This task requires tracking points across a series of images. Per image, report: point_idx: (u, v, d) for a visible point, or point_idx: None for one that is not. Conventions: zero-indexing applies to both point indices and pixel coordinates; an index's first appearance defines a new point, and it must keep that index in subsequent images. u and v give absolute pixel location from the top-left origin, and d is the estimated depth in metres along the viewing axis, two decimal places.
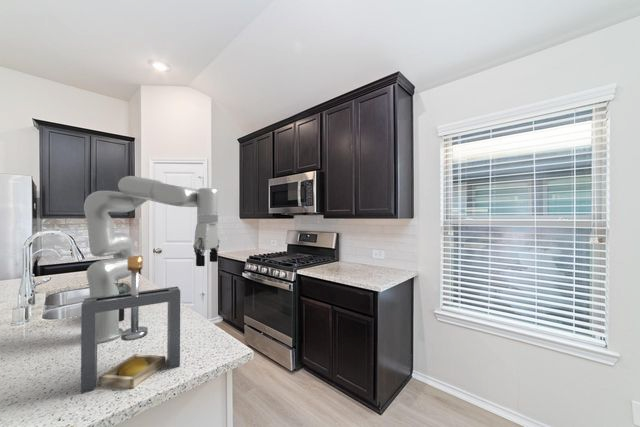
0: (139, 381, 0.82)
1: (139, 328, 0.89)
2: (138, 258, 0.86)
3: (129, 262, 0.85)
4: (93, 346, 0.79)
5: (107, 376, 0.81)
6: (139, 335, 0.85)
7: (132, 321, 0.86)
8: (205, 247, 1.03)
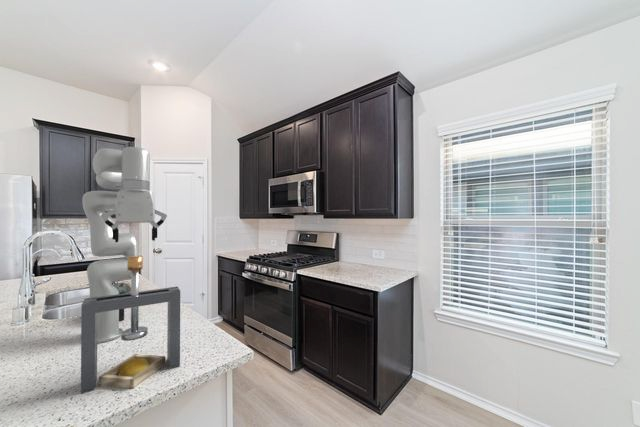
0: (139, 381, 0.82)
1: (139, 328, 0.89)
2: (138, 258, 0.86)
3: (129, 262, 0.85)
4: (93, 346, 0.79)
5: (107, 376, 0.81)
6: (139, 335, 0.85)
7: (132, 321, 0.86)
8: None
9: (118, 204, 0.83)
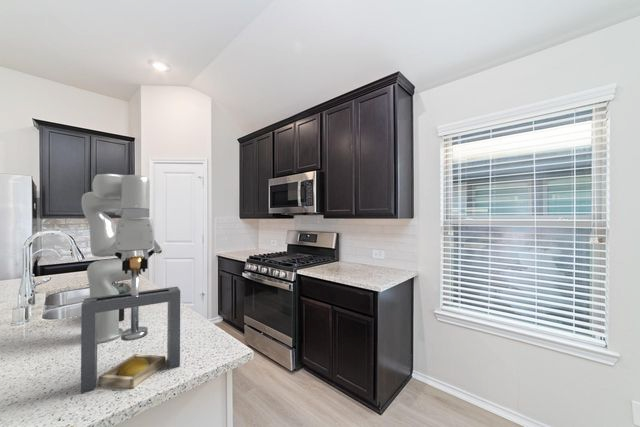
0: (139, 381, 0.82)
1: (139, 328, 0.89)
2: (138, 258, 0.86)
3: (129, 262, 0.85)
4: (93, 346, 0.79)
5: (107, 376, 0.81)
6: (139, 335, 0.85)
7: (132, 321, 0.86)
8: None
9: (118, 233, 0.83)
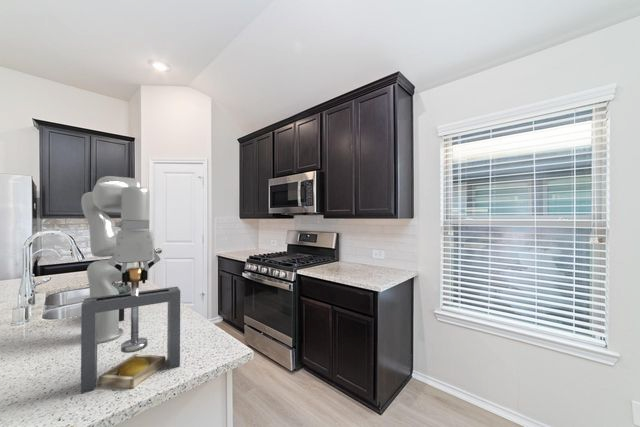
0: (139, 381, 0.82)
1: (139, 339, 0.89)
2: (138, 270, 0.86)
3: (129, 274, 0.85)
4: (93, 346, 0.79)
5: (107, 376, 0.81)
6: (139, 346, 0.85)
7: (132, 333, 0.86)
8: None
9: (117, 245, 0.83)
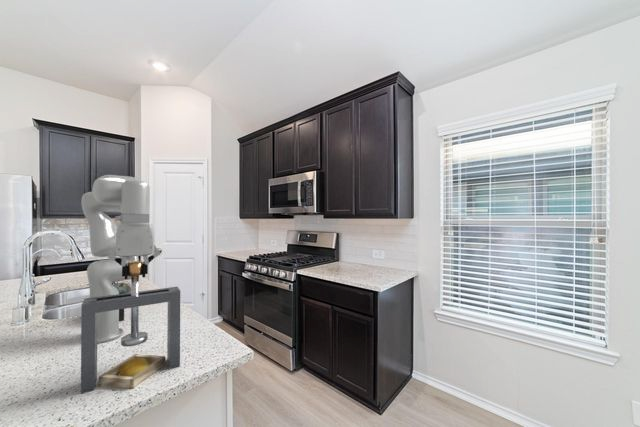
0: (139, 381, 0.82)
1: (139, 333, 0.89)
2: (138, 264, 0.86)
3: (129, 268, 0.85)
4: (93, 346, 0.79)
5: (107, 376, 0.81)
6: (139, 340, 0.85)
7: (132, 327, 0.86)
8: None
9: (117, 239, 0.83)
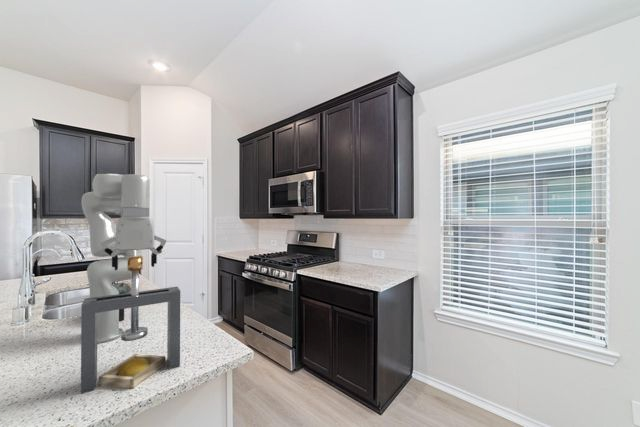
0: (139, 381, 0.82)
1: (139, 328, 0.89)
2: (138, 258, 0.86)
3: (129, 262, 0.85)
4: (93, 346, 0.79)
5: (107, 376, 0.81)
6: (139, 335, 0.85)
7: (132, 321, 0.86)
8: None
9: (117, 232, 0.83)
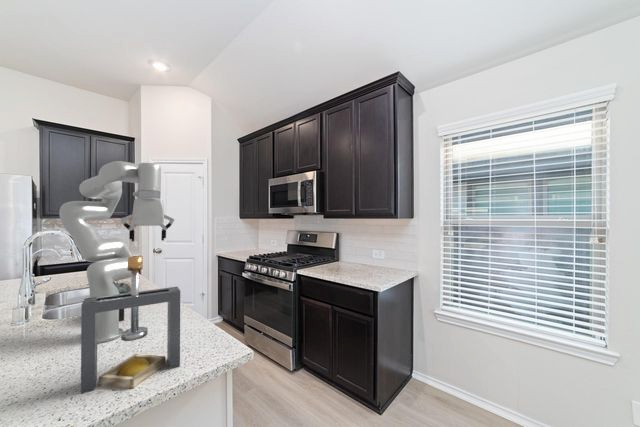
0: (139, 381, 0.82)
1: (139, 328, 0.89)
2: (138, 258, 0.86)
3: (129, 262, 0.85)
4: (93, 346, 0.79)
5: (107, 376, 0.81)
6: (139, 335, 0.85)
7: (132, 321, 0.86)
8: None
9: (134, 210, 1.01)
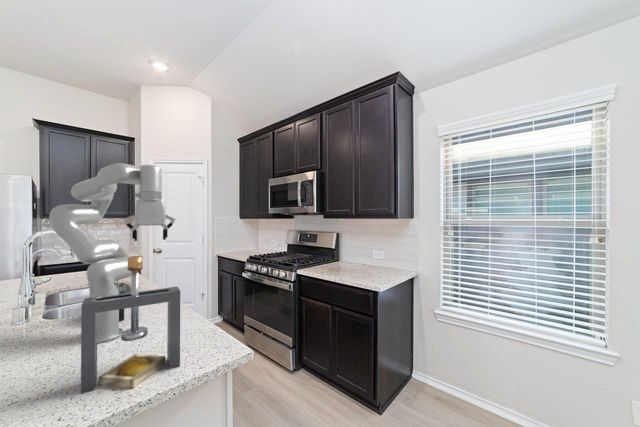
0: (139, 381, 0.82)
1: (139, 328, 0.89)
2: (138, 258, 0.86)
3: (129, 262, 0.85)
4: (93, 346, 0.79)
5: (107, 376, 0.81)
6: (139, 335, 0.85)
7: (132, 321, 0.86)
8: None
9: (137, 211, 1.04)
